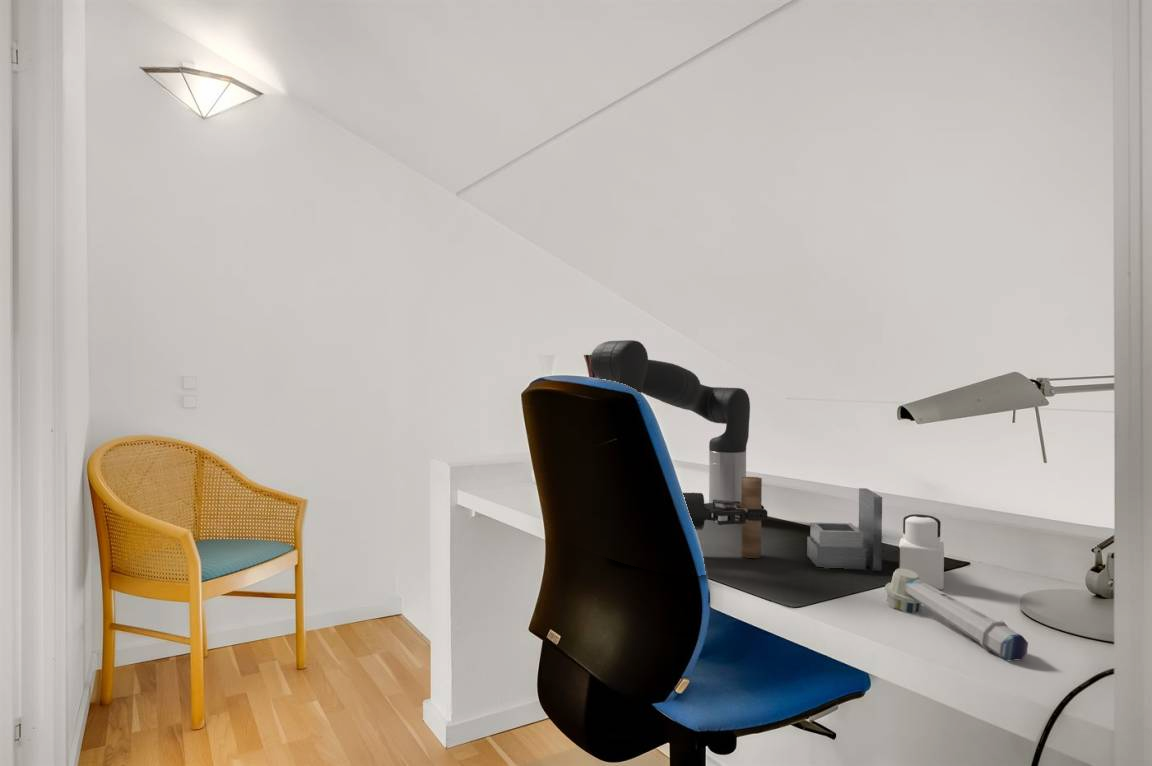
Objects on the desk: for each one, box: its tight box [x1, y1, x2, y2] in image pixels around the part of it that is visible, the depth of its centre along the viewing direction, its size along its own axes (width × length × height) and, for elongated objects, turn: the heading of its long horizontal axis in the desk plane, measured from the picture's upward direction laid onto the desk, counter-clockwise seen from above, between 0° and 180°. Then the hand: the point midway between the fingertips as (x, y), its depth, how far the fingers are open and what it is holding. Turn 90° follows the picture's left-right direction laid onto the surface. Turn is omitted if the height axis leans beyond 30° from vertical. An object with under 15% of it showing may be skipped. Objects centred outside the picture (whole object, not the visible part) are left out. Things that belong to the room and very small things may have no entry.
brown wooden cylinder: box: [740, 476, 763, 559], centre depth 149 cm, size 4×4×16 cm
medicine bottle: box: [898, 513, 945, 591], centre depth 131 cm, size 7×7×12 cm
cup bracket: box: [806, 487, 883, 572], centre depth 144 cm, size 10×12×14 cm
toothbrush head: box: [884, 568, 1029, 661], centre depth 109 cm, size 5×7×25 cm
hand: (764, 512), depth 148 cm, fingers closed on brown wooden cylinder, 4 cm apart
